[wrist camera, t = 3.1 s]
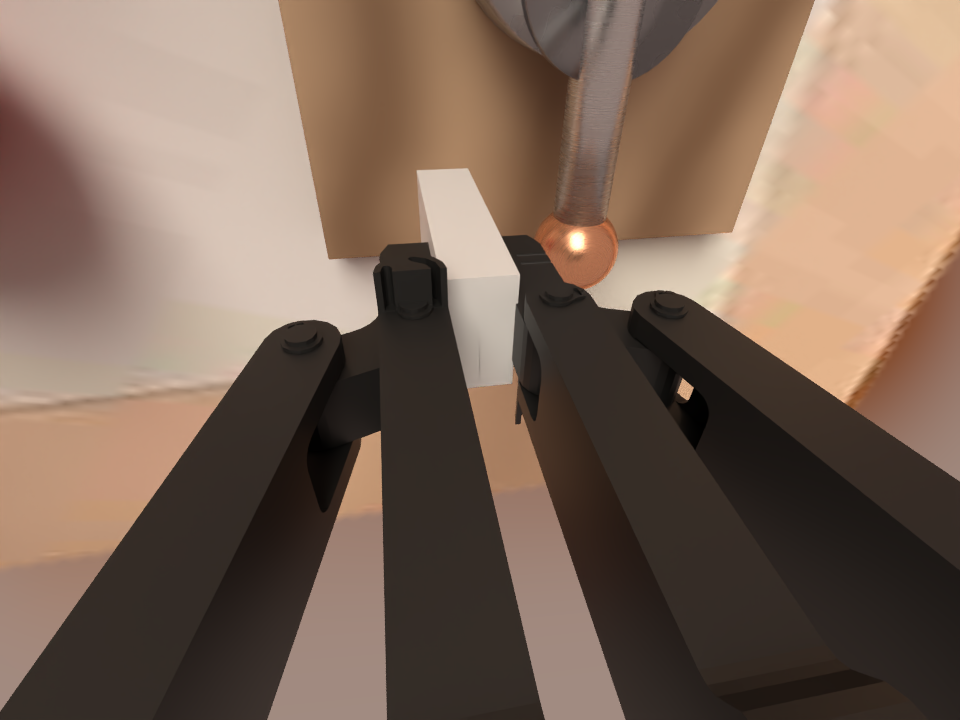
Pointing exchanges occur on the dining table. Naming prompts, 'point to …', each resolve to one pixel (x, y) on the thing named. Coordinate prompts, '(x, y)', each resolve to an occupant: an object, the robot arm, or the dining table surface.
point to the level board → (523, 117)
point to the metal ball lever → (592, 106)
